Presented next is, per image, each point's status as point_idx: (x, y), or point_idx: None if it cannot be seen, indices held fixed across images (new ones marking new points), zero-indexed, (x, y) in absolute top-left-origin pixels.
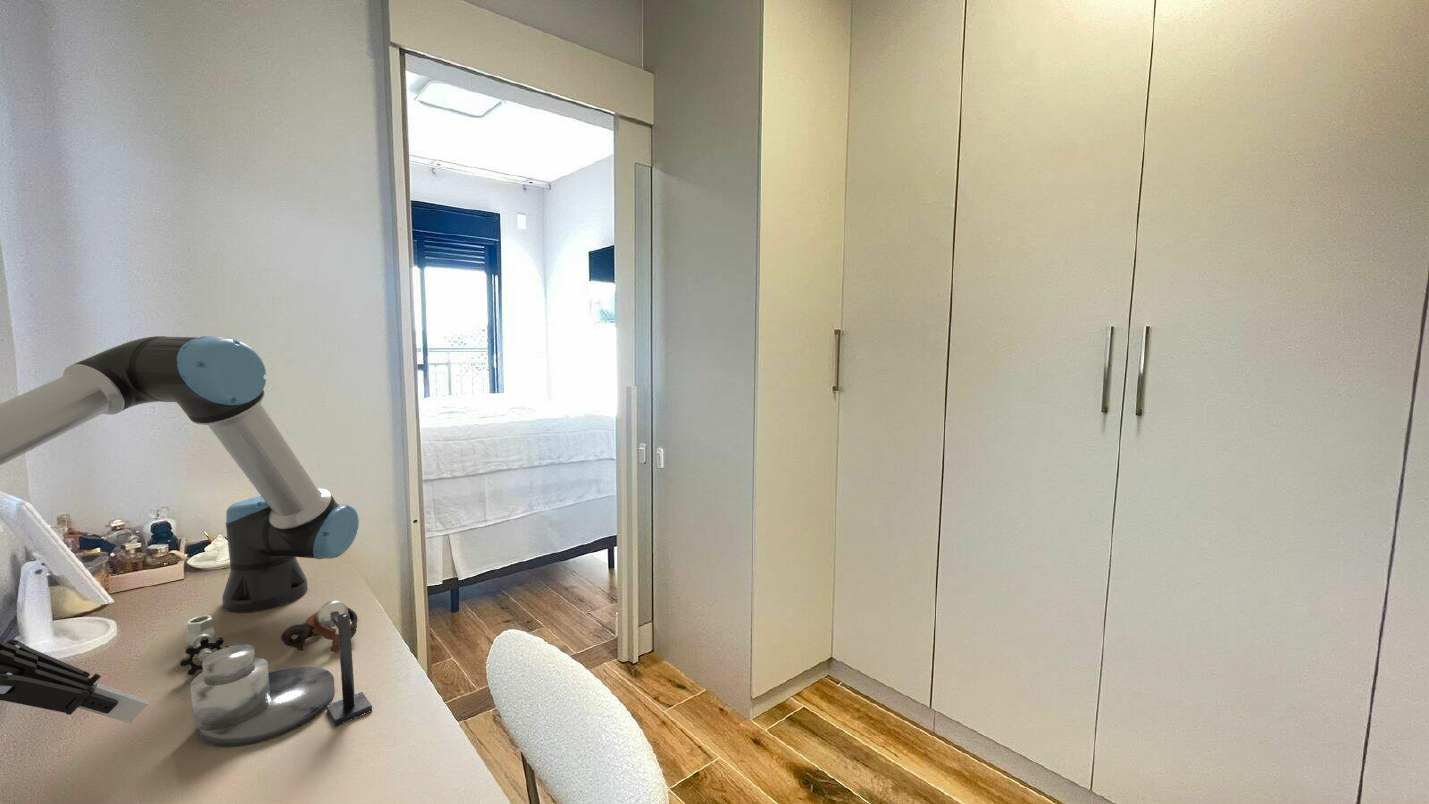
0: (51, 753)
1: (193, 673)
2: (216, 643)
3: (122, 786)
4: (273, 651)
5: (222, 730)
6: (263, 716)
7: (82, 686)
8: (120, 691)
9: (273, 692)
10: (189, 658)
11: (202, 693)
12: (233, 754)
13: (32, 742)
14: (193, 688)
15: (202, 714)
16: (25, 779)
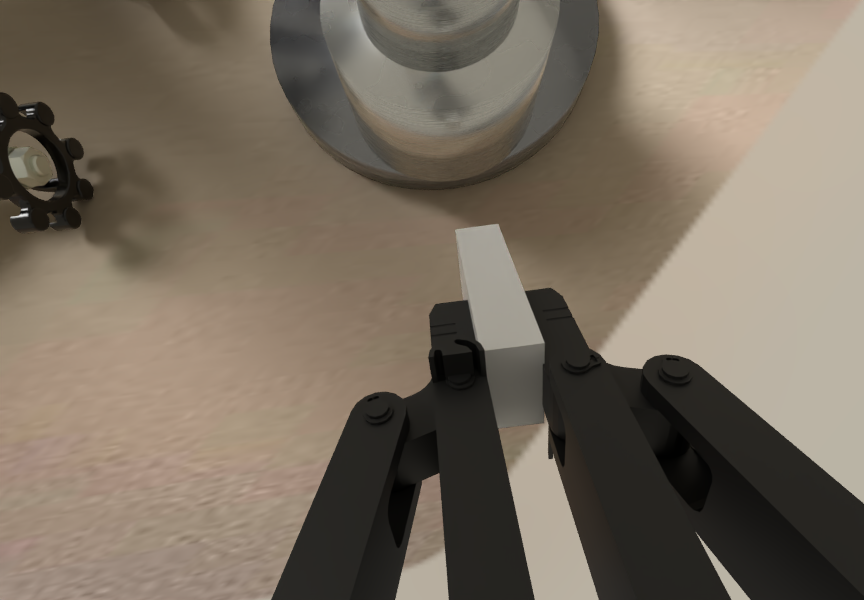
0: (283, 510)
1: (78, 216)
2: (7, 113)
3: (587, 326)
4: (79, 44)
5: (541, 116)
6: None
7: (601, 392)
8: (477, 282)
9: None
10: (28, 201)
11: (530, 74)
12: (603, 116)
13: (175, 570)
14: (478, 98)
15: (513, 128)
16: None
